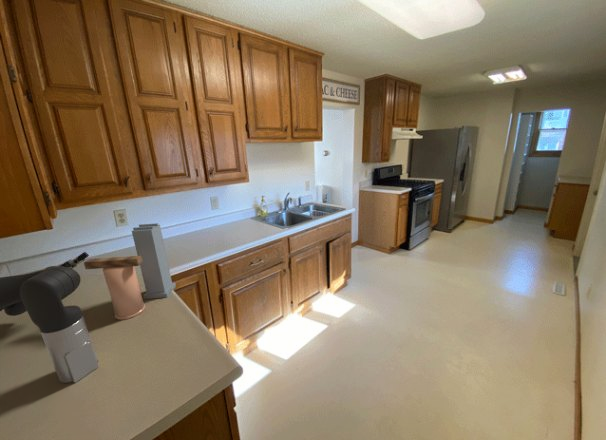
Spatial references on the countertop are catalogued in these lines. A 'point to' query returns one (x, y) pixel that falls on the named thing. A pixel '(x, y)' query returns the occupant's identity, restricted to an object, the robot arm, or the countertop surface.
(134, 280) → the crock
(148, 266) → the tall gray pillar
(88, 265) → the brown wooden bar
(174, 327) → the countertop surface
